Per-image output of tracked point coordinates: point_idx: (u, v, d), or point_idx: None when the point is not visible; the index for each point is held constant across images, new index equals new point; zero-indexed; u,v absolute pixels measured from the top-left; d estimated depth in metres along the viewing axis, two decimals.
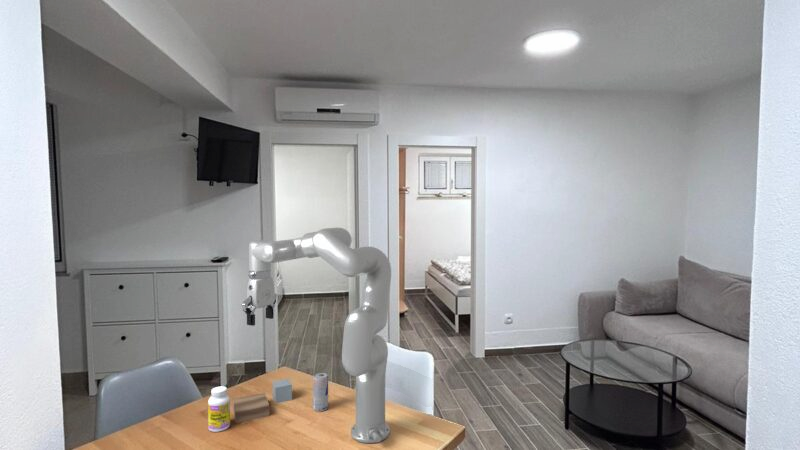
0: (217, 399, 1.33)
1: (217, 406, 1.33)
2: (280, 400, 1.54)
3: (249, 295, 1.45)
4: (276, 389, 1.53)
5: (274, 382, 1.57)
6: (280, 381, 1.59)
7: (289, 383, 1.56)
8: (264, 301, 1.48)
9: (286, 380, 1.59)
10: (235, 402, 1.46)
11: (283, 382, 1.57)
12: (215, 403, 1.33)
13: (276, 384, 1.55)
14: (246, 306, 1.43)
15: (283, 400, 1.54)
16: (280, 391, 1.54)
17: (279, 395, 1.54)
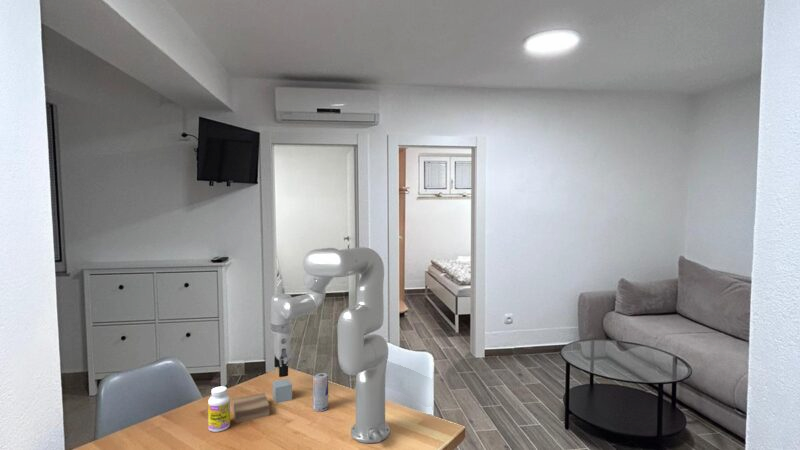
0: (217, 399, 1.33)
1: (217, 406, 1.33)
2: (280, 400, 1.54)
3: (282, 348, 1.52)
4: (276, 389, 1.53)
5: (274, 382, 1.57)
6: (280, 381, 1.59)
7: (289, 383, 1.56)
8: None
9: (286, 380, 1.59)
10: (235, 402, 1.46)
11: (283, 382, 1.57)
12: (215, 403, 1.33)
13: (276, 384, 1.55)
14: None
15: (283, 400, 1.54)
16: (280, 391, 1.54)
17: (279, 395, 1.54)
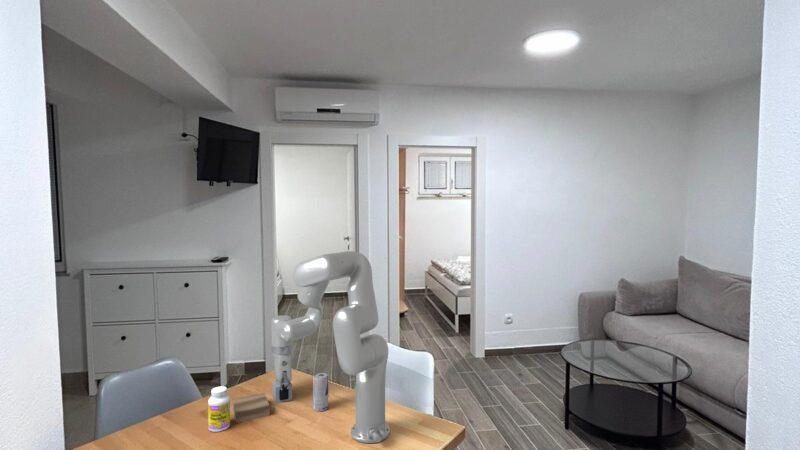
0: (217, 399, 1.33)
1: (217, 406, 1.33)
2: (280, 400, 1.54)
3: (283, 372, 1.52)
4: (276, 389, 1.53)
5: (274, 382, 1.57)
6: None
7: (289, 383, 1.56)
8: None
9: None
10: (235, 402, 1.46)
11: (283, 382, 1.57)
12: (215, 403, 1.33)
13: (276, 384, 1.55)
14: None
15: (283, 400, 1.54)
16: None
17: (279, 394, 1.54)
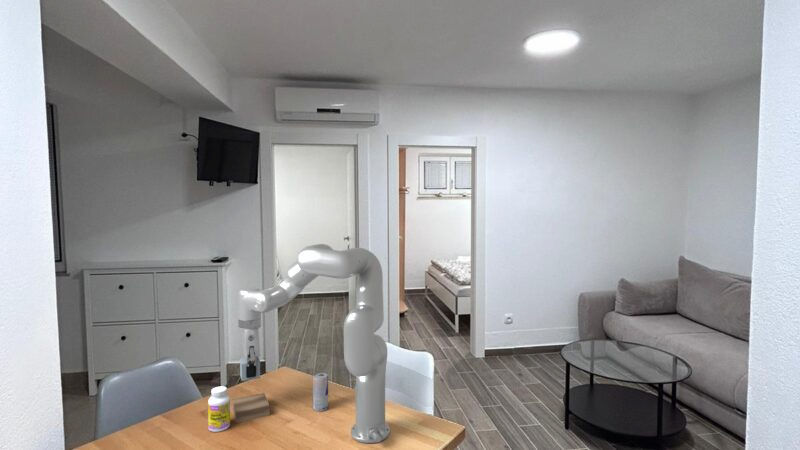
0: (217, 399, 1.33)
1: (217, 406, 1.33)
2: None
3: (250, 347, 1.41)
4: (242, 365, 1.42)
5: (241, 358, 1.46)
6: None
7: (257, 360, 1.45)
8: None
9: (255, 357, 1.48)
10: (235, 402, 1.46)
11: None
12: (215, 403, 1.33)
13: (243, 361, 1.44)
14: None
15: None
16: None
17: None
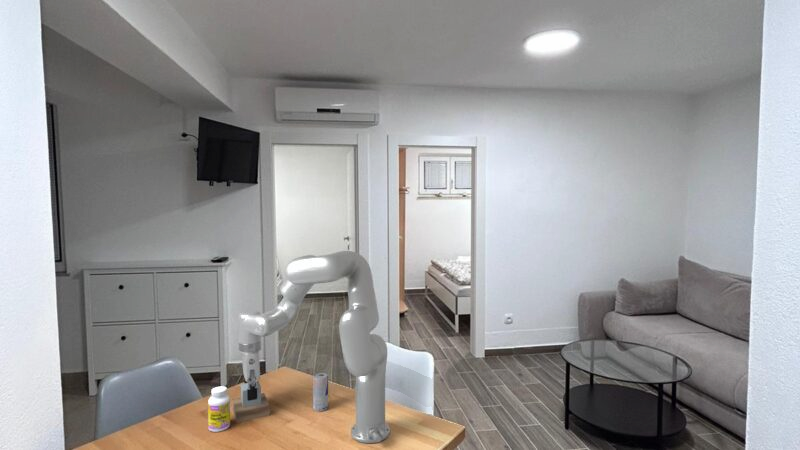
0: (217, 399, 1.33)
1: (217, 406, 1.33)
2: (248, 404, 1.43)
3: (250, 369, 1.41)
4: (243, 392, 1.42)
5: (242, 385, 1.46)
6: None
7: (258, 386, 1.46)
8: None
9: None
10: (235, 402, 1.46)
11: None
12: (215, 403, 1.33)
13: (244, 387, 1.44)
14: None
15: (251, 404, 1.43)
16: None
17: None
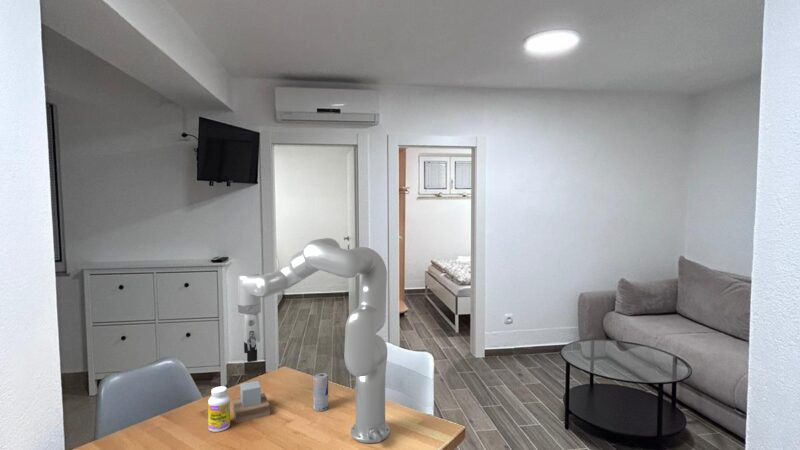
0: (217, 399, 1.33)
1: (217, 406, 1.33)
2: (248, 404, 1.43)
3: (250, 331, 1.40)
4: (243, 392, 1.42)
5: (242, 384, 1.47)
6: (248, 383, 1.48)
7: (258, 385, 1.46)
8: None
9: (255, 382, 1.49)
10: (235, 402, 1.46)
11: (251, 384, 1.47)
12: (215, 403, 1.33)
13: (243, 387, 1.45)
14: (254, 342, 1.39)
15: (251, 404, 1.44)
16: (248, 394, 1.43)
17: (246, 398, 1.43)
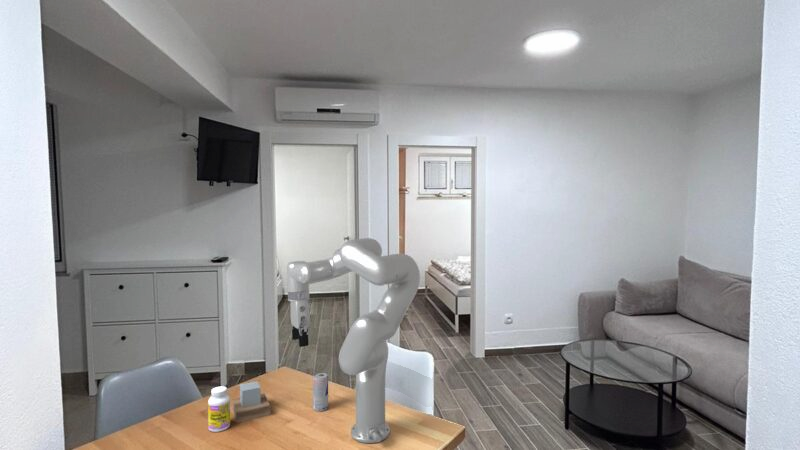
0: (217, 399, 1.33)
1: (217, 406, 1.33)
2: (247, 404, 1.43)
3: (301, 316, 1.45)
4: (243, 392, 1.42)
5: (241, 385, 1.46)
6: (248, 383, 1.48)
7: (257, 386, 1.46)
8: None
9: (254, 382, 1.48)
10: (235, 402, 1.46)
11: (251, 385, 1.47)
12: (215, 403, 1.33)
13: (243, 387, 1.44)
14: None
15: (251, 404, 1.44)
16: (247, 394, 1.43)
17: (246, 398, 1.43)
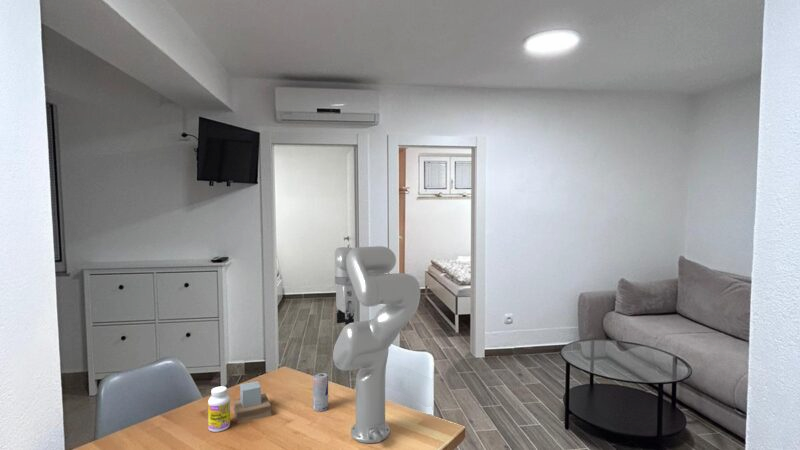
0: (217, 399, 1.33)
1: (217, 406, 1.33)
2: (248, 404, 1.43)
3: (348, 300, 1.49)
4: (243, 392, 1.42)
5: (241, 385, 1.47)
6: (248, 383, 1.48)
7: (258, 385, 1.46)
8: None
9: (255, 382, 1.49)
10: (236, 403, 1.46)
11: (251, 385, 1.47)
12: (215, 403, 1.33)
13: (243, 387, 1.44)
14: None
15: (251, 404, 1.44)
16: (248, 394, 1.43)
17: (247, 398, 1.43)
